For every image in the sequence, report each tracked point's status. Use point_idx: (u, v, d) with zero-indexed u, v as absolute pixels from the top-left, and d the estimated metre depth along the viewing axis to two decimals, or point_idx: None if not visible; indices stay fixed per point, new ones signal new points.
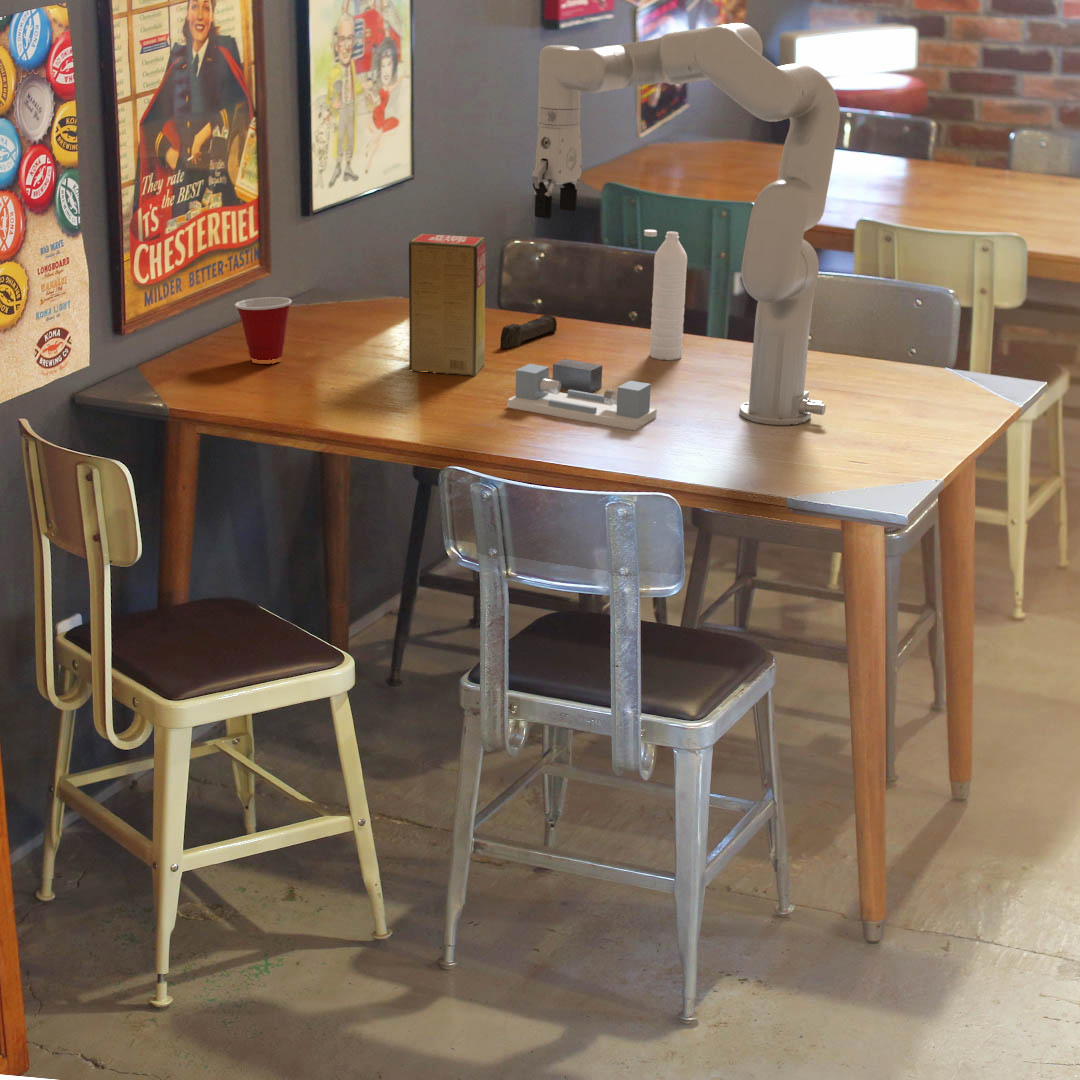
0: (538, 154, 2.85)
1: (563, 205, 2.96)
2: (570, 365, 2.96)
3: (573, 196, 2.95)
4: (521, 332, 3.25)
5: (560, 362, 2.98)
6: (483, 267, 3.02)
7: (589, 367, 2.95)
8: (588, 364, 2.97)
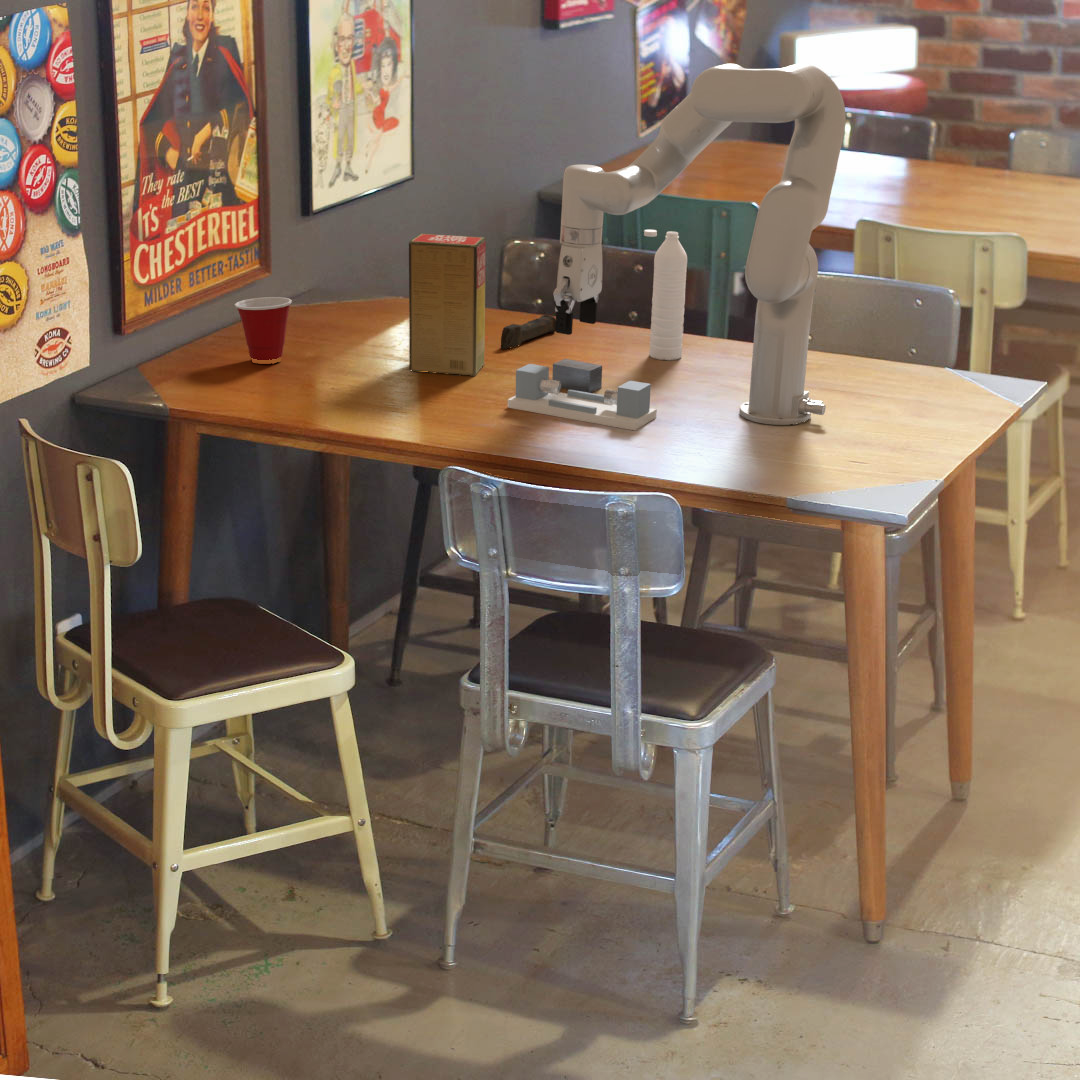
0: (560, 272, 2.87)
1: (583, 318, 2.98)
2: (570, 365, 2.97)
3: (593, 310, 2.97)
4: (522, 332, 3.25)
5: (560, 362, 2.98)
6: (483, 267, 3.02)
7: (588, 367, 2.95)
8: (588, 364, 2.97)
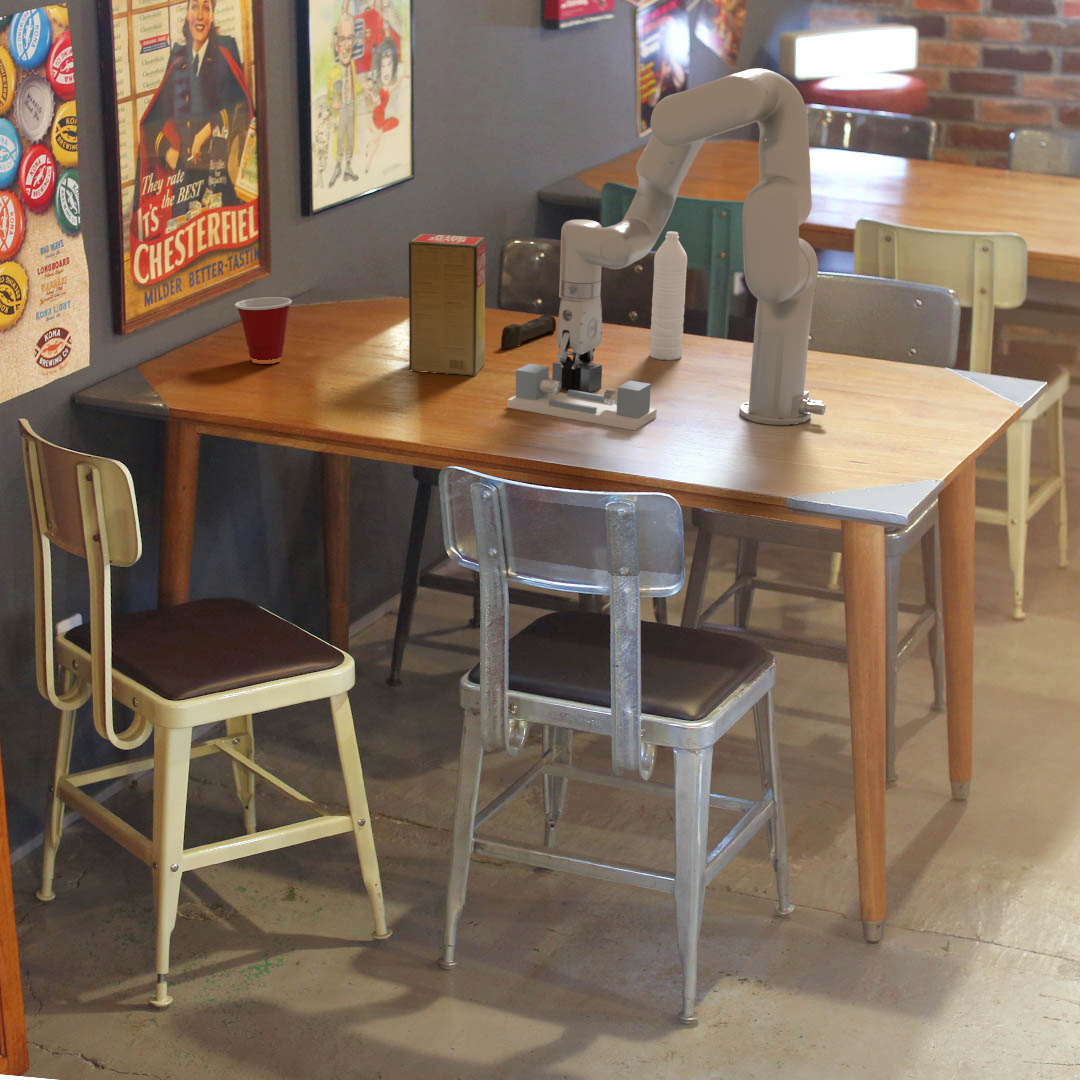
0: (560, 325, 2.91)
1: None
2: None
3: None
4: (522, 332, 3.25)
5: None
6: (483, 267, 3.02)
7: (588, 367, 2.95)
8: (588, 363, 2.97)
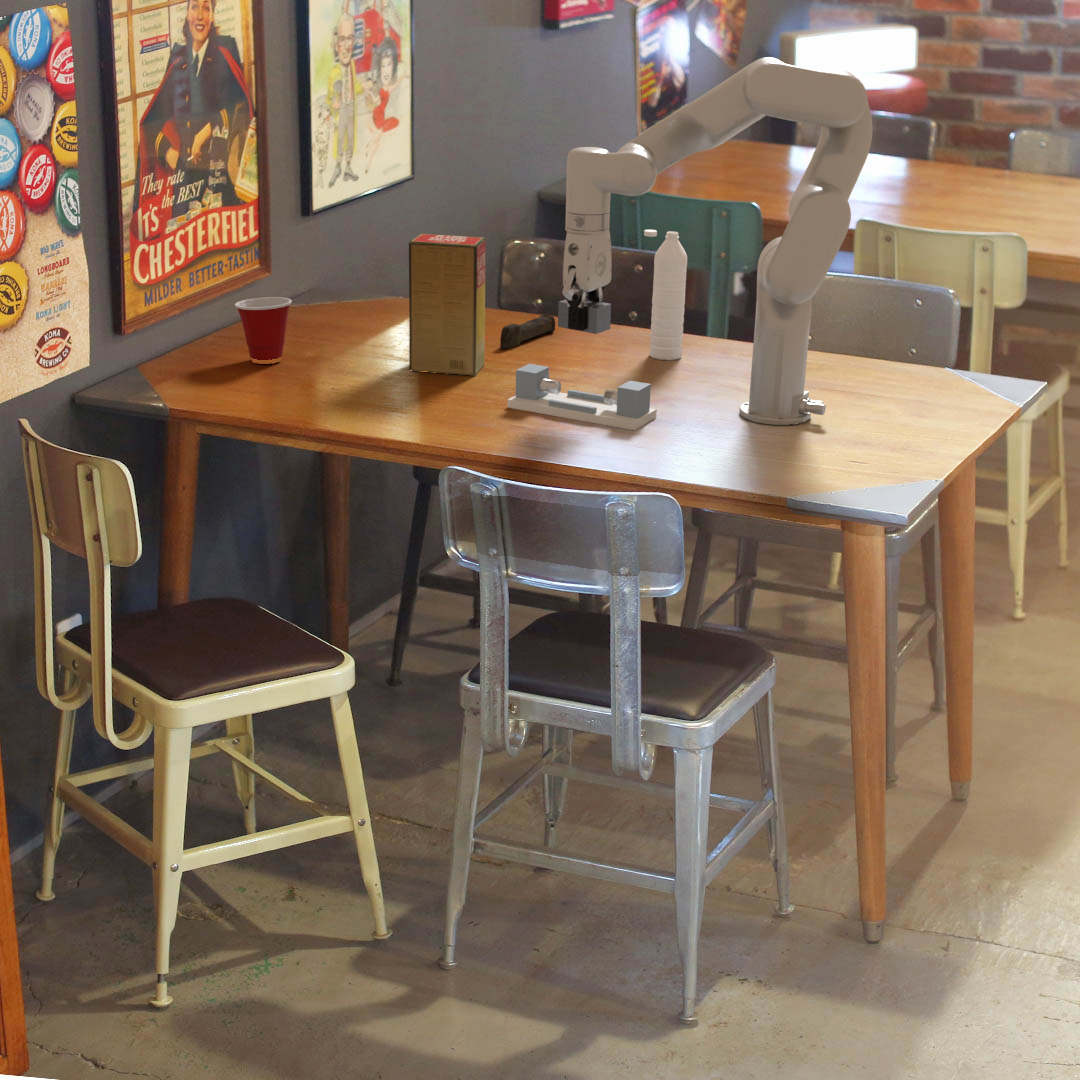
0: (566, 260, 2.72)
1: None
2: None
3: None
4: (521, 332, 3.25)
5: None
6: (483, 267, 3.02)
7: (596, 305, 2.77)
8: (596, 302, 2.79)
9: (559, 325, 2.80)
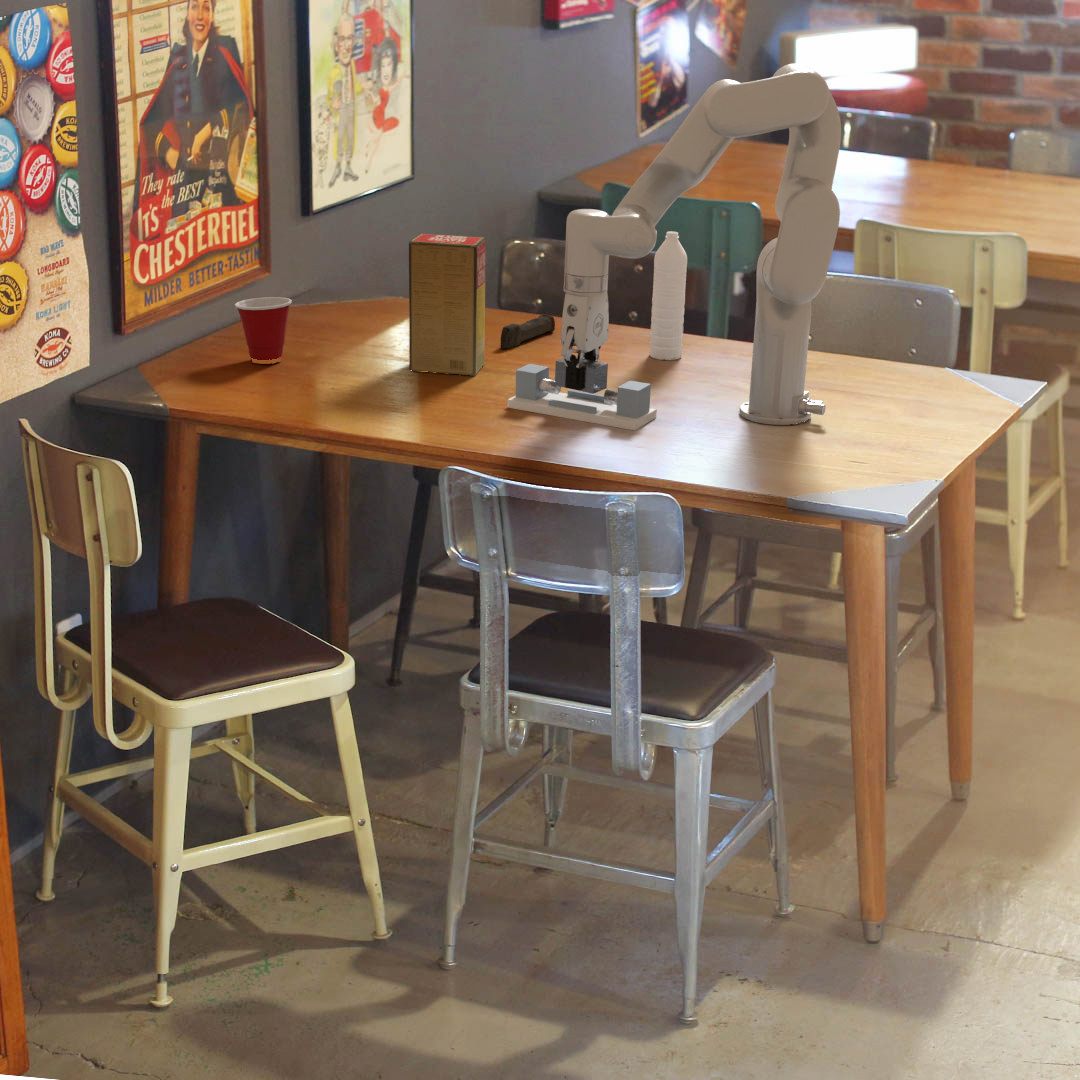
0: (564, 321, 2.74)
1: None
2: None
3: None
4: (521, 332, 3.25)
5: None
6: (483, 267, 3.02)
7: (593, 365, 2.78)
8: (593, 362, 2.80)
9: (556, 384, 2.82)
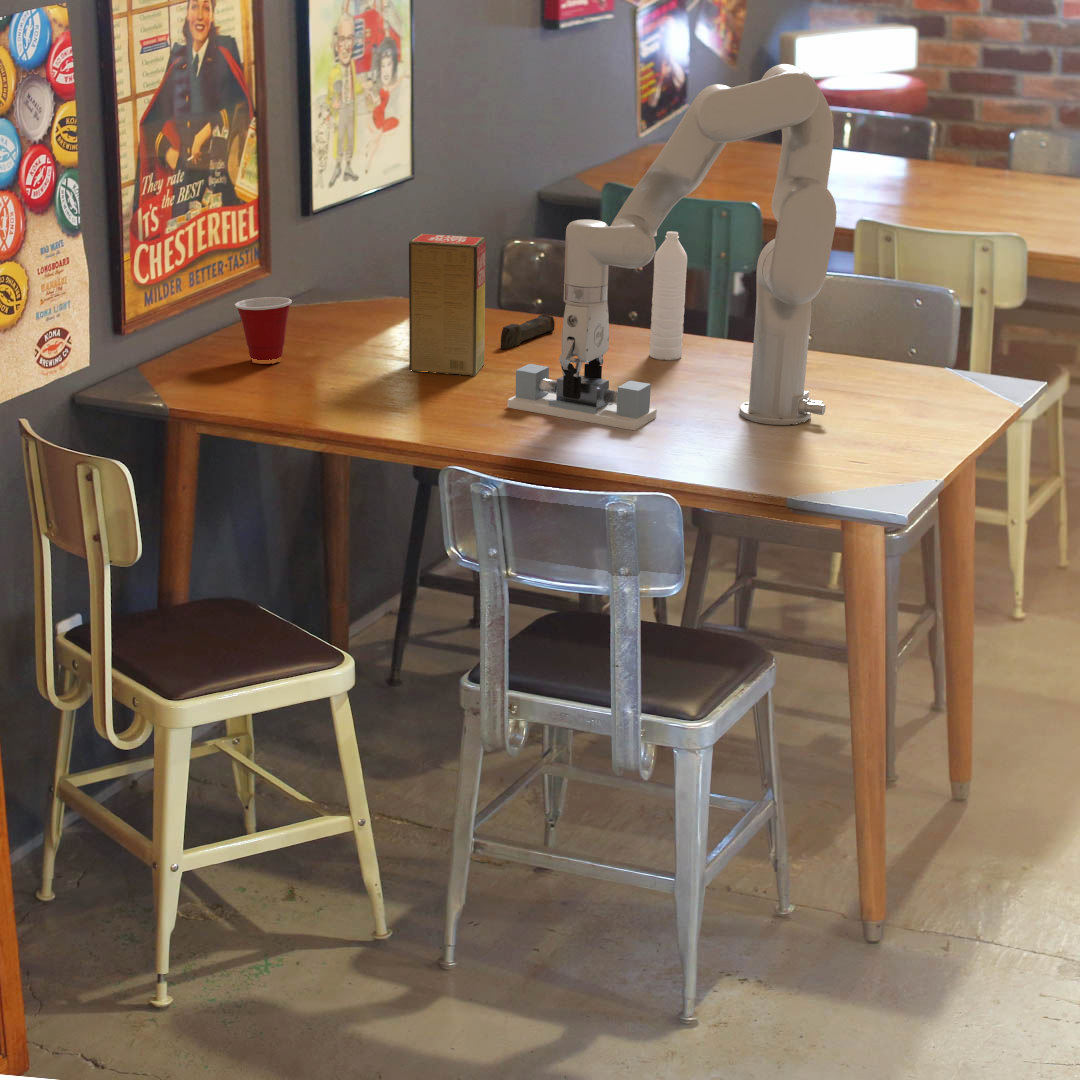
0: (564, 332, 2.74)
1: None
2: None
3: (598, 373, 2.84)
4: (521, 332, 3.25)
5: None
6: (483, 267, 3.02)
7: (595, 382, 2.80)
8: (594, 379, 2.82)
9: None
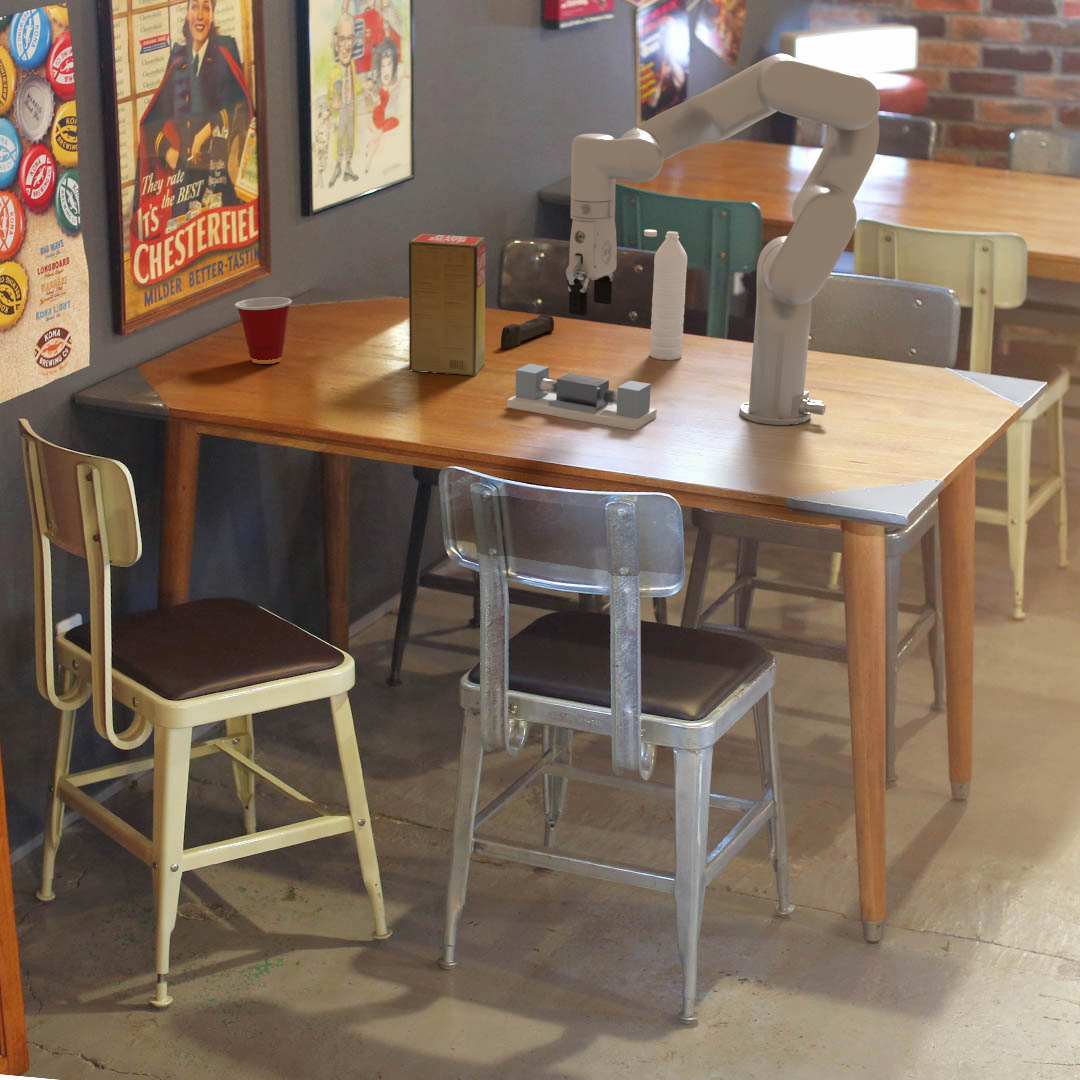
0: (572, 249, 2.70)
1: (597, 298, 2.81)
2: (575, 380, 2.81)
3: (608, 289, 2.79)
4: (521, 332, 3.25)
5: (564, 377, 2.83)
6: (483, 267, 3.02)
7: (595, 382, 2.80)
8: (594, 379, 2.82)
9: None
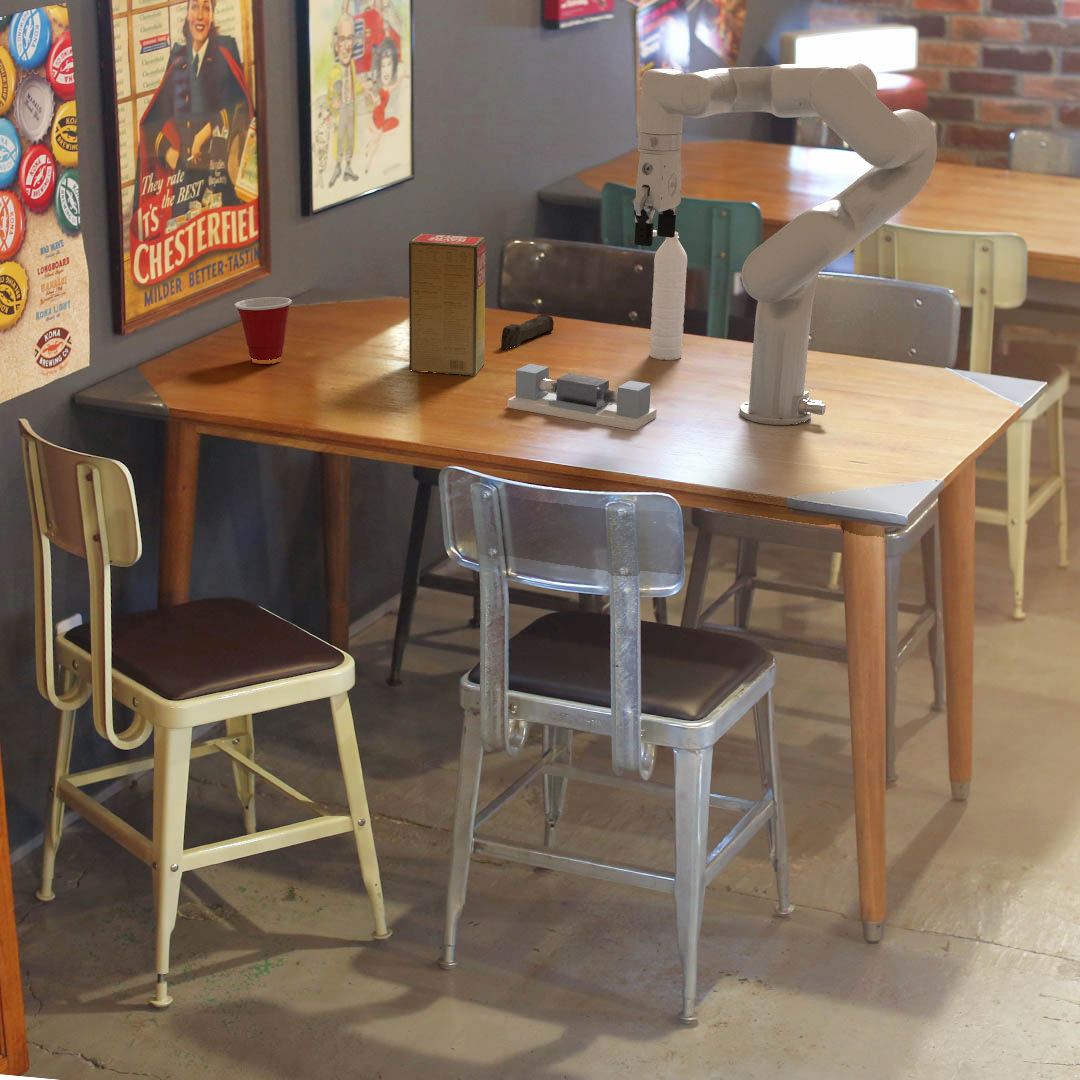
0: (639, 180, 2.77)
1: (661, 232, 2.89)
2: (575, 380, 2.81)
3: (672, 223, 2.87)
4: (521, 332, 3.25)
5: (564, 377, 2.83)
6: (483, 267, 3.02)
7: (595, 382, 2.80)
8: (594, 379, 2.82)
9: None
